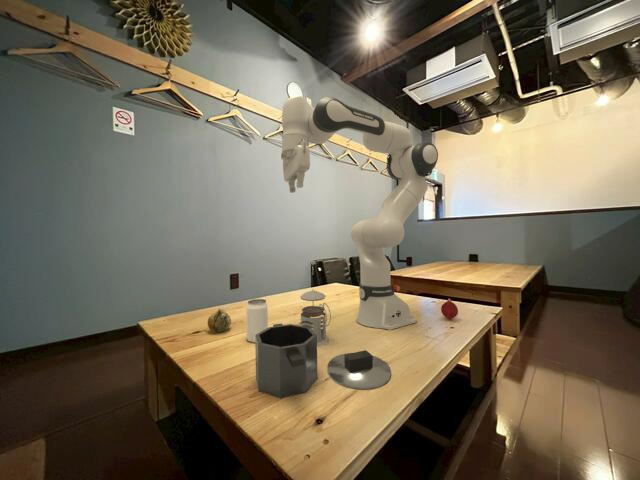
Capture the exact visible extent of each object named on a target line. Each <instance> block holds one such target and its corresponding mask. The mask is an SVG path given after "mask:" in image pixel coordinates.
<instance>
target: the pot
mask: <svg viewBox="0 0 640 480" xmlns="http://www.w3.org/2000/svg"><path fill="white" fill-rule="evenodd" d="M255 378H256V383H257V384H256V385H257V389H258V392H259V393H262V394H265V395H268V396H271V397H275V398H277V399H284V398H288V397H293V396H296V395H301V394H305V393H307V392H308V391H309V390H310V388H312V386H313V385H314V383H315V382H316V381H317V380H318V346H317V335H316V334H315V333H314V332H313V330H312V329H311V328H310V327H306V326H301V324H300V325H299V324H292V323H289V324H283V323H275V324H272V326H268V328H267V329H265V330H263V331H261V332H260V333H258V334H256V335H255Z"/></svg>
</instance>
